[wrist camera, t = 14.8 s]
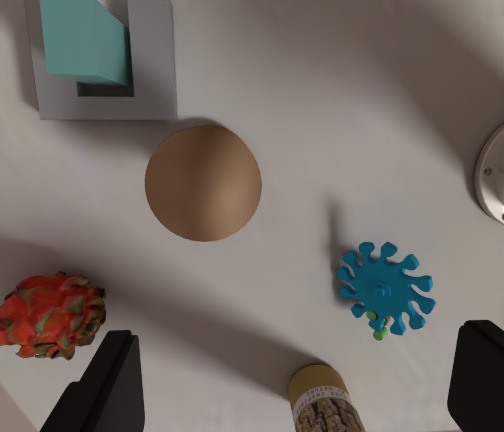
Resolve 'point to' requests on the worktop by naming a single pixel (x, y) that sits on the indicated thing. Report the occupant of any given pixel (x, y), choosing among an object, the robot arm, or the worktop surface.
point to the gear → (385, 289)
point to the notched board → (143, 66)
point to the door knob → (203, 183)
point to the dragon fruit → (52, 315)
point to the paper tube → (322, 402)
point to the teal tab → (85, 43)
